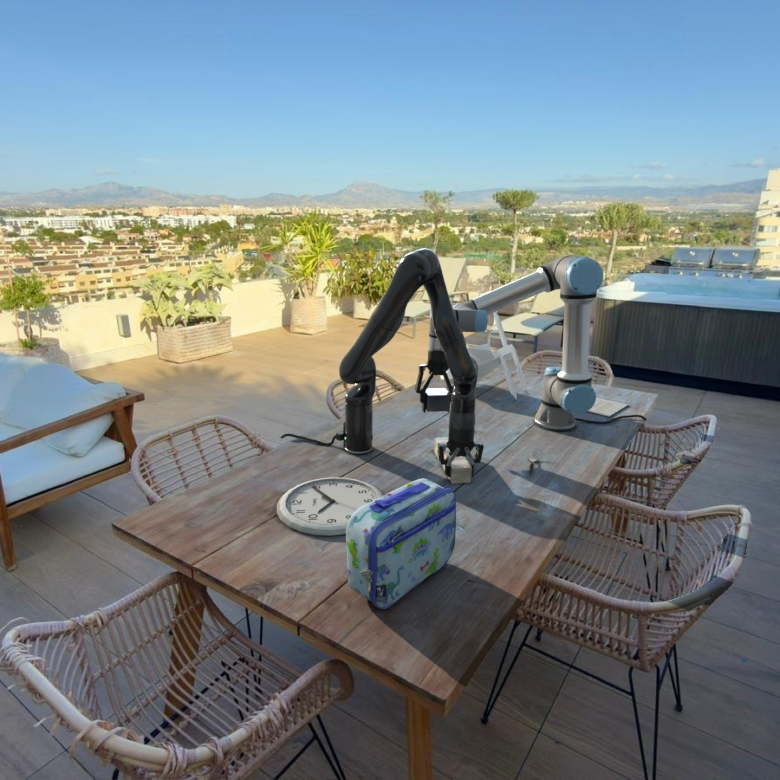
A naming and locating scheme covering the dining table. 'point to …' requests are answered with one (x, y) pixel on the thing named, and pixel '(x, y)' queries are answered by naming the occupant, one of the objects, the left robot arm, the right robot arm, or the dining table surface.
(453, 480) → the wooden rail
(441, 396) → the slate block
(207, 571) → the dining table surface
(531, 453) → the fork
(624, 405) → the invitation card
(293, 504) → the wall clock
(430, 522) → the lunch box
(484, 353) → the white plastic object
